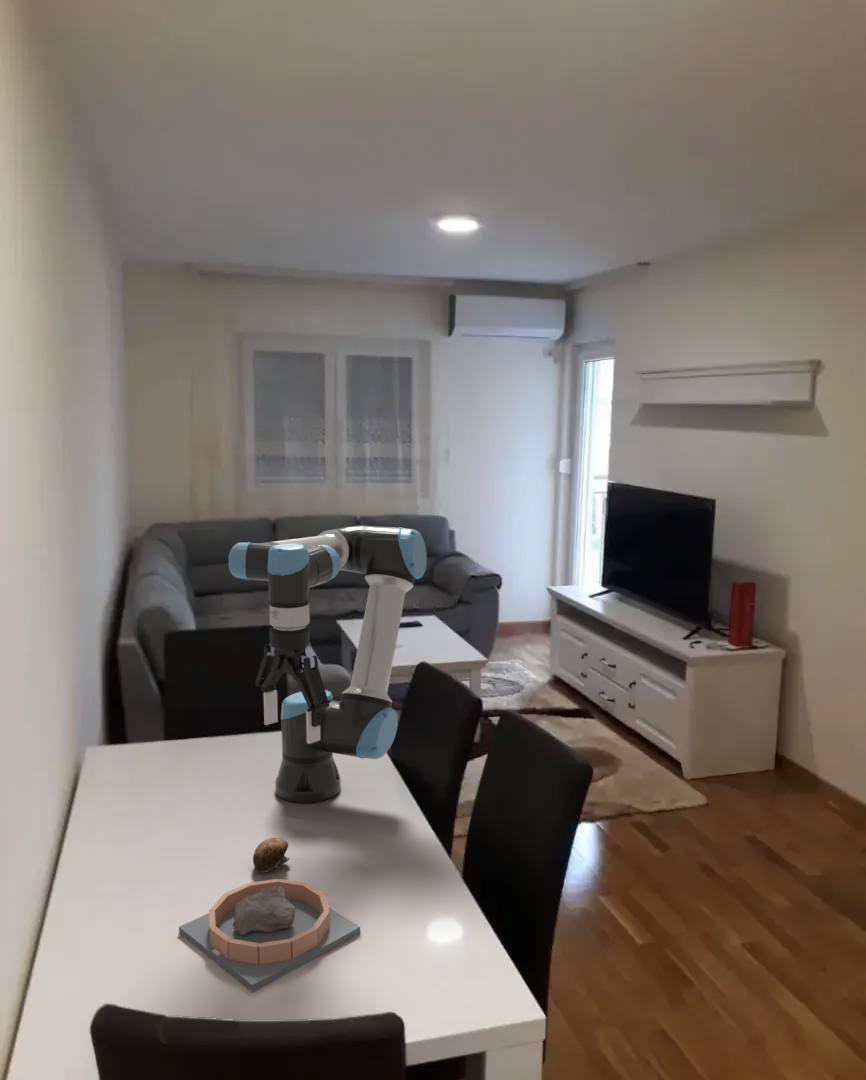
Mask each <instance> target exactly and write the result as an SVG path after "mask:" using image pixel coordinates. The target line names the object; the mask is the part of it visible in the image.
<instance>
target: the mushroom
mask: <svg viewBox="0 0 866 1080" xmlns="http://www.w3.org/2000/svg"><path fill="white" fill-rule="evenodd" d="M288 848H289V843H288V841H287V840H285V839H284V838H281V837H269V838H267V839H265V840H263V841H261V842H260V843H259V844H258V845H257V847H256V849H255V850H254V853H253V856H252V863H253V866H254V868H255V870H256V871H257V872H258V873H261V874H262V873H264V874H265V873H267V872H269V871H271V870H273V868H275V869H278V868H280V867H282V866H284V864H285V863H287V862H288V861H289V860H291V858H290V857H287V856H286V852H287V851H288Z"/></svg>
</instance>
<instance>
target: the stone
mask: <svg viewBox="0 0 866 1080" xmlns="http://www.w3.org/2000/svg"><path fill="white" fill-rule="evenodd" d="M294 916H295V906H294V905H292V904H291V903H290V902H289V901H287V900H286V898H285V893H284V889H283V888H282V887H281V886H280V887H273V888H271V889H266V888H263V889H262V890H261V891H260V893H256V894H253V895H249V896H247V897H245V898H244V899H243V900H242V901H240V902H238V903H237V904H236V906H235V912H234V920H235V922H234V923H233V927H234V929H235V930H236V931H238V933H239V934H241V935H244V934H247V933H249V932H252V931H261V932H274V931H276V930H277V929H284V928H288V927H290V926H291V925H292V924H293V922H294Z"/></svg>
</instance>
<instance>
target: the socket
mask: <svg viewBox="0 0 866 1080" xmlns="http://www.w3.org/2000/svg"><path fill="white" fill-rule="evenodd" d="M280 886H281V887H282V888H283V889H284V893H285V898H286V900H287V901H289V902H290V903H291V904H292V905H294V906H295V916H294V922H293V924H292V925H291V926H290V927H288V928H284V929H277V930H276V931H274V932H261V931H252V932H249V933H247V934H244V935H241V934H239V933H238V931H236V930H235V929H234V927H233V923H234V922H235V920H234V912H235V906H236V904H237V903H238V902H240V901H242V900H243V899H244V898H245V897H247V896H249V895H253V894H256V893H260V891H261V890H262V889H263V888H266V889H271V888H273V887H280ZM178 934H179V935H180V936H182V937H183V938H185V939H186V940H187V941H188V942H190V943H191V944H192V945H193V946H194V947H196V949H198V950H200V952H202V953H203V954H204V955H205V956H207V957H208V958H209V959H211V960H212V961H214V963H216V965H218V966H220V968H222V969H223V970H224V971H225V972H227V973H228V974H230V975H231V977H233V978H235V980H237V982H239V983H241V985H243V986H244V987H246V988H247V989H248V990H249V991H251V993H254V992H256V991H258V990H260V989H261V988H263V987H265V986H267V985H268V984H270V983H272V982H274V981H276V980H278V979H280V978H282V977H283V976H285V975H286V974H289V973H291V972H292V971H294V970H296V969H298V968H300V967H302V966H303V965H305V964H307V963H309V962H311V961H312V960H315V959H316V958H318V957H319V956H321V955H323V954H325V953H327V952H329V951H331V950H332V949H335V948H337V947H338V946H340V945H342V944H343V943H345V942H347V941H349V940H351V939H353V938H355V937H357V936H358V935H359V934H361V926H360V925H358V924H357V923H355V922H353V921H352V920H350V919H348V918H347V917H345V916H343V915H342V914H341V913H339V912H337V911H336V910H334V909H332V908H331V907H329V904H328V901H327V895H326V894H325V893H323V892H322V891H320V890H318V889H317V888H315V887H314V886H312V885H311V884H309V883H307V882H302V881H296V880H290V879H284V878H276V879H275V878H274V879H266V880H259V881H254V882H248V883H246V884H243V885H241V886H238V887H236V888H235V889H232V890H229V891H228V892H225V893H223V894H222V895H221V896H220V897H219V898H218V900H217V901H216V902H215V903H214V904H213V906H211V908H210V909H209V910H208V913H206V914H204V915H201V916H200V917H197V918H195V919H193V920H191V921H188V922H186V923H184V924H183V925H180V926H178Z"/></svg>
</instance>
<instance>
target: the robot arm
mask: <svg viewBox="0 0 866 1080" xmlns="http://www.w3.org/2000/svg"><path fill="white" fill-rule="evenodd" d="M427 556H428V555H427V547H426V543H425V540H424V537H423V536H422V534H421V532H419V531H418V530H416V529H413V528H404V527H402V526H401V527H400V526H399V527H392V526H390V527H389V526H375V525H374V526H373V525H362V524H361V525H352V526H347V527H346V526H345V527H340V528H335V529H328V530H324V531H321V533H319V534H317V535H316V536H315V535H313V536H307V537H301V538H299V537H298V538H292V539H283V540H276V541H274V540H273V541H267V542H256V543H255V542H251V541H248V542H237V543H236V544H234V545H233V546H232V548H231V549H230V551H229V554H228V563H227V564H228V570H229V572H230V573H231V575H232V576H233V577H235V578H236V579H242V580H246V581H252V580H253V581H261V582H264V581H265V582H268V595H269V596H268V598H269V599H268V604H269V625H270V626H271V627H270V628H269V643H268V644H264V646H263V656H262V659H261V661H260V666H259V669H258V672H257V675H256V678H255V686H256V687H260V691H261V692H262V705H263V717H264V718H263V719H264V721H263V724H264V725H266V726H268V725H271V724H275V723H278V722H279V719H278V718H279V717H278V716H279V715H278V709H279V708H278V690H276V689H277V688H278V687H277V684H278V683H279V681H280V679H281V678H282V676H283V674H287V675H289V676H291V678H292V679H293V680H294V681H296V683H297V686H298V687H299V690H300V691H298V692H296V693H293V694H290V695H288V696H287V697H286V698H284V700H283V701H282V703H281V713H280V720H281V721H280V722H281V724H280V725H281V748H282V749H281V750H282V752H281V757H282V759H281V762H280V766H279V771H278V773H277V777H276V779H275V785H274V786H275V794H276V795H277V797H279V798H280V799H282V800H284V801H286V802H291V803H300V804H301V803H302V804H309V803H317V802H322V801H326V800H329V799H331V798H333V797H334V796H336V795H337V794H339V793H340V791H341V788H342V786H341V781H342V780H341V776H340V773H339V770H338V767H337V765H336V761H335V758H334V755H333V754H336V755H337V754H338V755H342V756H349V757H355V758H359V759H362V760H363V759H370V760H377V759H378V760H379V759H381V758H382V757H384V756H385V755H386V754H387V753H388V751H389V750H390V749H391V747H392V744H393V743H394V740H395V739H396V736H397V735H396V734H397V730H398V724H399V722H398V719H399V718H398V713H397V711H396V710H395V709H393V707H392V704H393V700H392V699H391V698H390V696H389V694H388V691H389V690H388V689H389V685H390V679H391V673H392V667H393V663H394V658H395V651H396V646H397V641H398V636H399V629H400V625H401V620H402V619H401V618H402V615H403V608H404V604H405V598H406V597H405V596H406V593H408V592H409V591H410V590H412V589H413V588H414V584H415V580H419V579H422V578H423V576H424V574H425V572H426V571H427V570H426V569H427V562H428V561H427V560H428V559H427V558H428V557H427ZM339 571H345V572H350V573H357V574H363V575H364V580H365V581H366V582H367V584H368V585H369V588H368V594H367V599H366V605H365V611H364V615H363V619H362V624H361V631H360V635H359V641H358V645H357V651H356V656H355V662H354V665H353V671H352V676H351V682H350V685H349V686H348V688H346V689H345V690H343V691H342V692H341V698H340V701H339V700H333V699H334V696H333V694H332V691H329V690H327V689H325V685H324V682H323V679H322V676H321V671H320V669H319V663H318V662H319V661H318V660H319V659H318V656H317V655H312V656H311V655H310V656H307V653H306V649H307V647H308V646H309V645H310V642H311V640H310V637H311V636H310V633H311V632H310V626H309V624H310V621H311V620H310V600H309V599H310V596H309V595H310V589H312V588H314V587H317V586H319V585H324V584H327V583H328V582H329V581H330V580H332V579H334V578H336V576H337V575H338V573H339Z"/></svg>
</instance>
